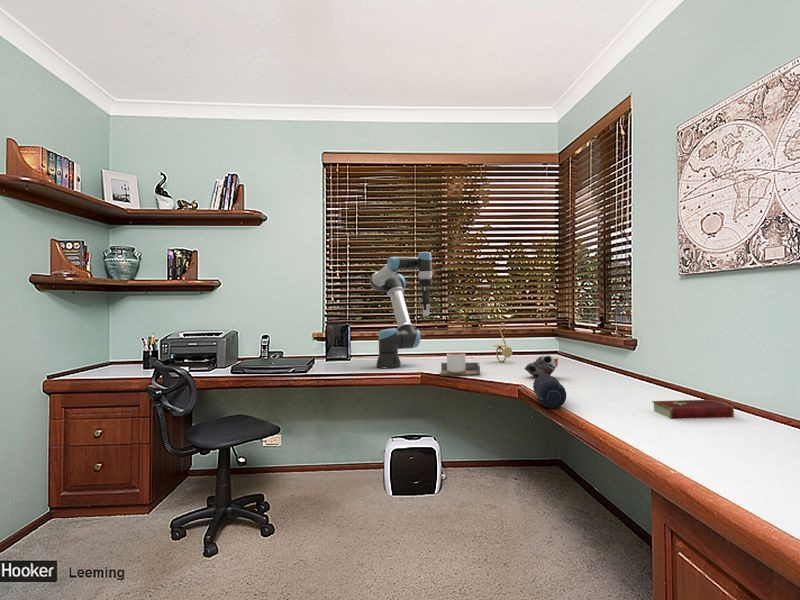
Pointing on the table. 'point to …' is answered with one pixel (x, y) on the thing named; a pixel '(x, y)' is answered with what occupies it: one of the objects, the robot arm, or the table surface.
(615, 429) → the table surface
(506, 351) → the wall sconce
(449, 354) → the cup
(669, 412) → the hardcover book
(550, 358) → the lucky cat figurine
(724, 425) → the table surface
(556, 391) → the portable speaker
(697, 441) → the table surface
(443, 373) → the pen base
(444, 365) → the pen walls
